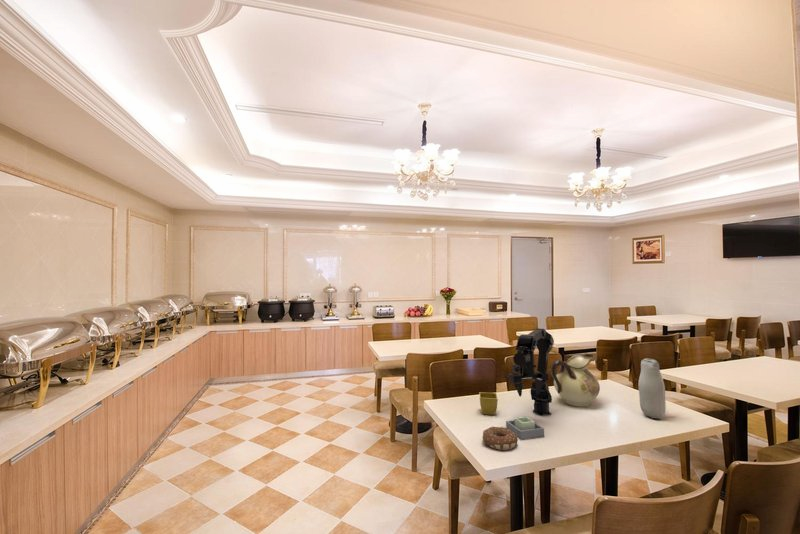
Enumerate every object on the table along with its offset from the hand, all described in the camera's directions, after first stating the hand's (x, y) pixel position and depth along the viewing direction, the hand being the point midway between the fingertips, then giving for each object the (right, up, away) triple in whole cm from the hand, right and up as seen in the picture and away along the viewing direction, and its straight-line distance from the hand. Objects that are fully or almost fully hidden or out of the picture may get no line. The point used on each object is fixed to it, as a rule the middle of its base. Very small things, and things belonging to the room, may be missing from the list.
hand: (528, 395), depth 160 cm
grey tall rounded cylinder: (+62, -13, +5) cm, 64 cm away
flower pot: (-16, -14, +13) cm, 25 cm away
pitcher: (+36, -14, +26) cm, 46 cm away
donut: (-20, -13, -20) cm, 31 cm away
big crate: (-6, -13, -10) cm, 17 cm away
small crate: (-6, -12, -10) cm, 17 cm away
